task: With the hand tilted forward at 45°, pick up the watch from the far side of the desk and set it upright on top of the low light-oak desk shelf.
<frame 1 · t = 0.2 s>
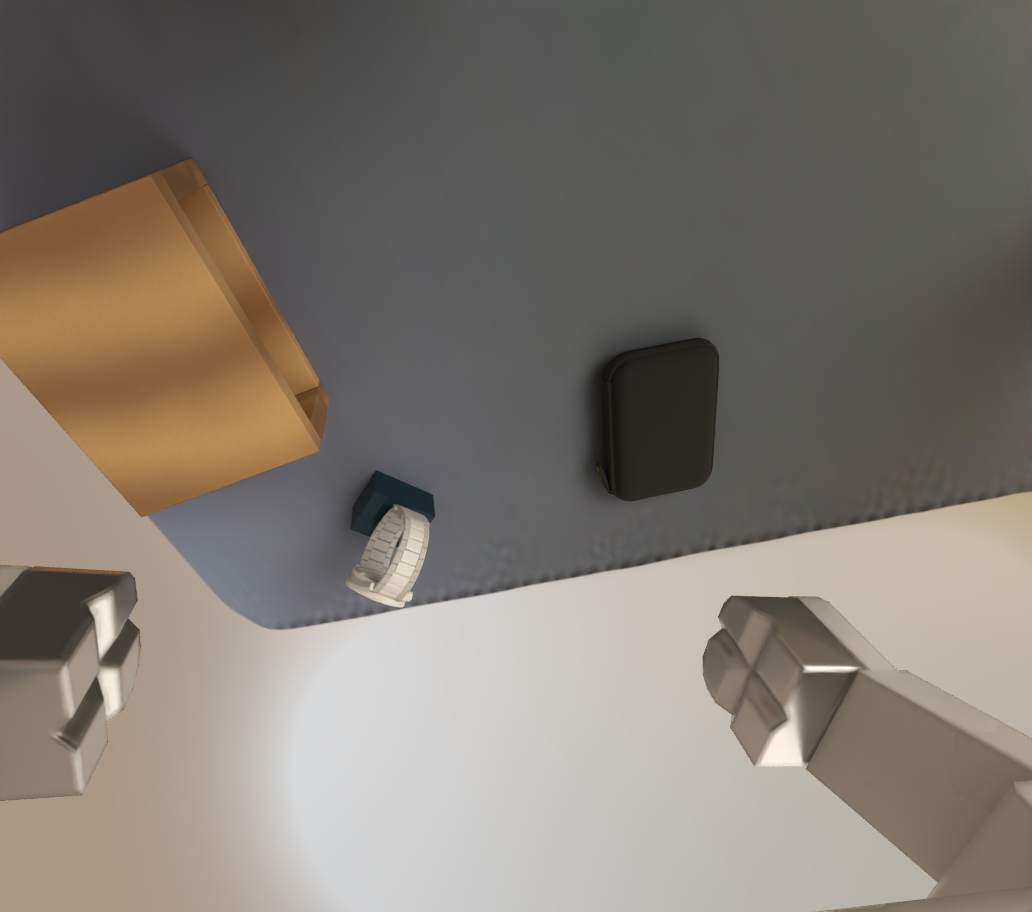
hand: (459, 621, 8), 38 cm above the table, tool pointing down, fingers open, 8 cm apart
watch: (393, 500, 54), on the table
shelf: (183, 324, 43), on the table
carrying case: (648, 416, 54), on the table
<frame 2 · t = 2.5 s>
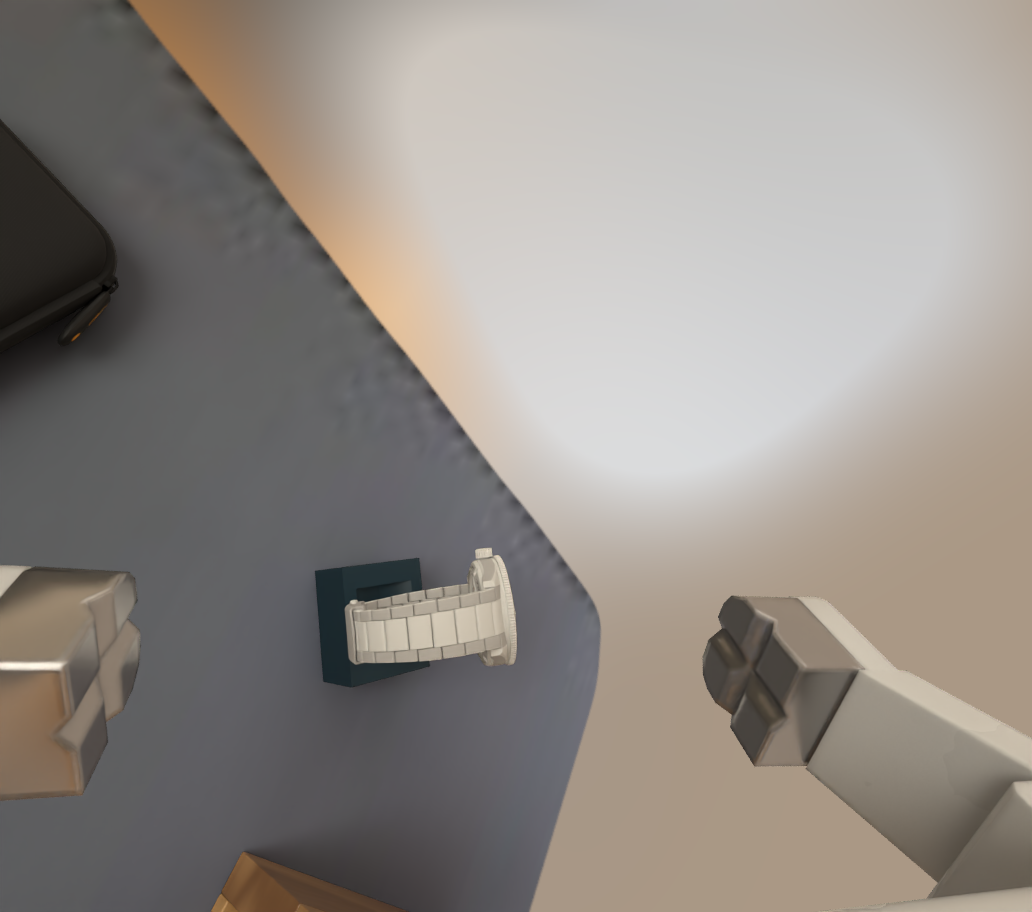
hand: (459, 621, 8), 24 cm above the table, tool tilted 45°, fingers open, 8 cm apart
watch: (358, 616, 33), on the table
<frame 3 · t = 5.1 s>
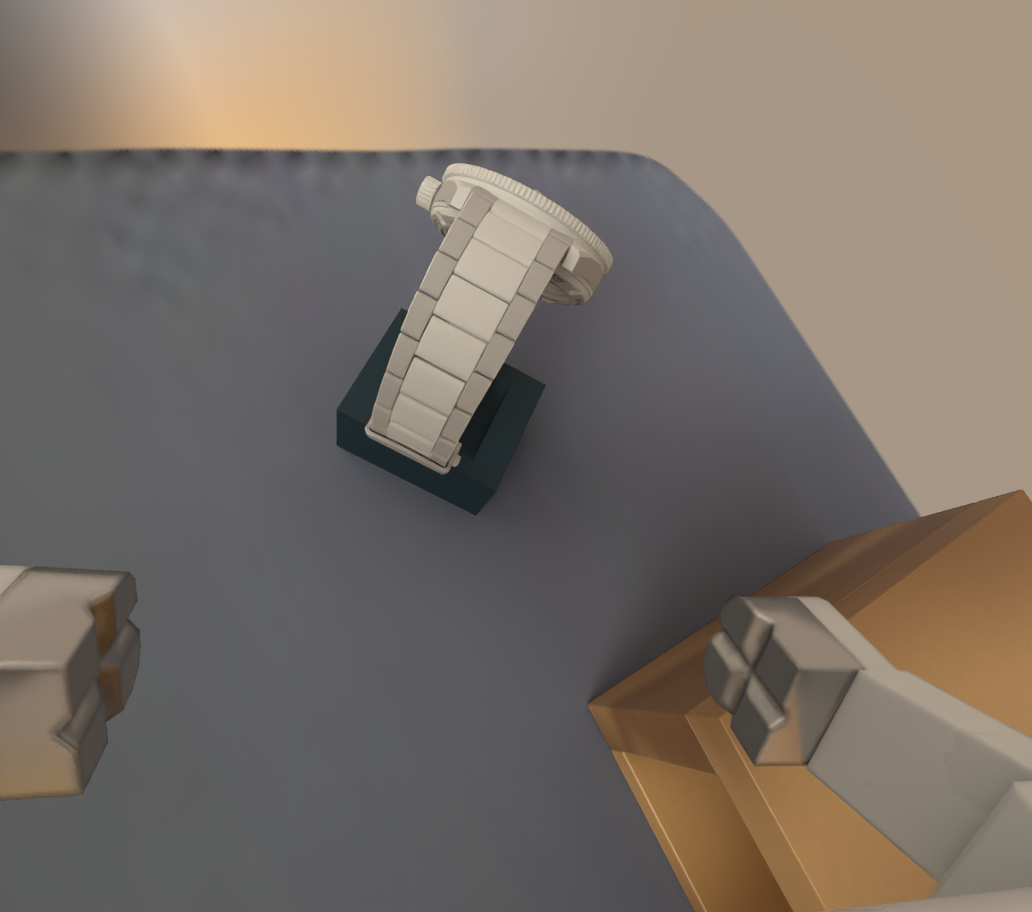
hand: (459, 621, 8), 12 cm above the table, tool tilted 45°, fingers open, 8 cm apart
watch: (432, 431, 23), on the table
shelf: (854, 844, 22), on the table
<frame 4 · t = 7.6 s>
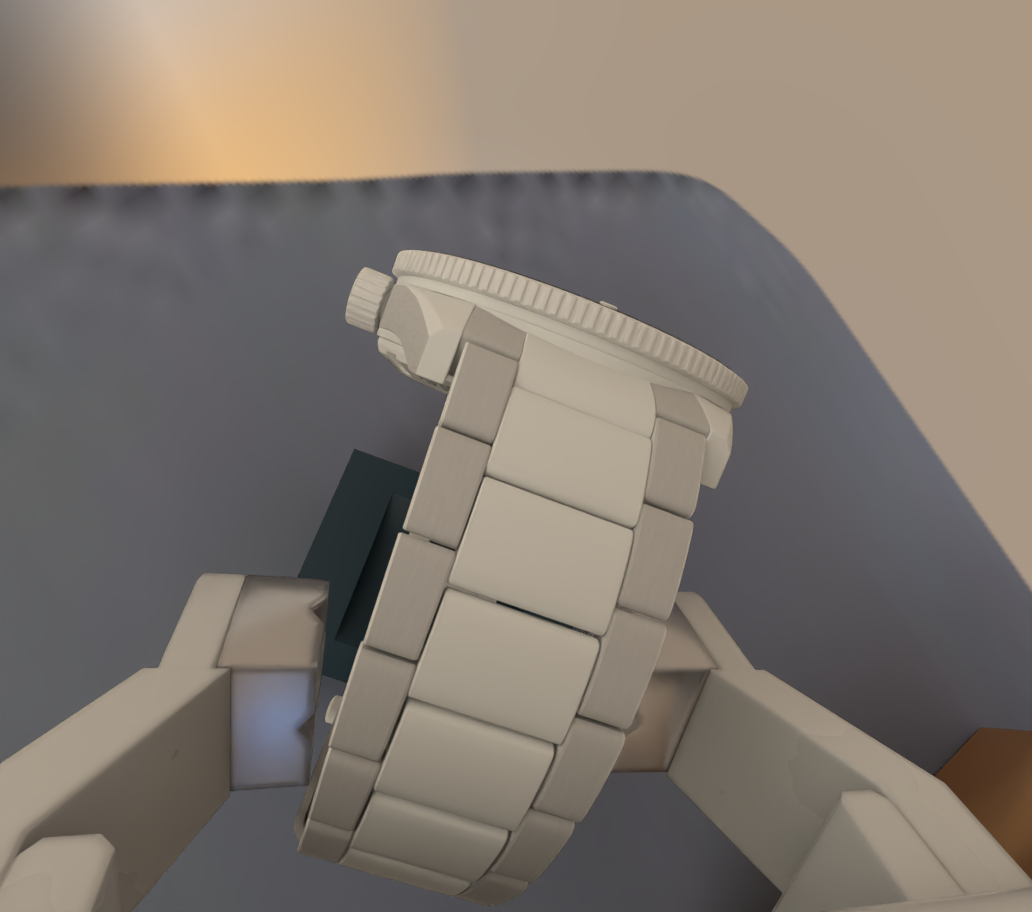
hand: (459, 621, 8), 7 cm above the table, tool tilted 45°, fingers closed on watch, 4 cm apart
watch: (426, 604, 15), on the table, touching gripper
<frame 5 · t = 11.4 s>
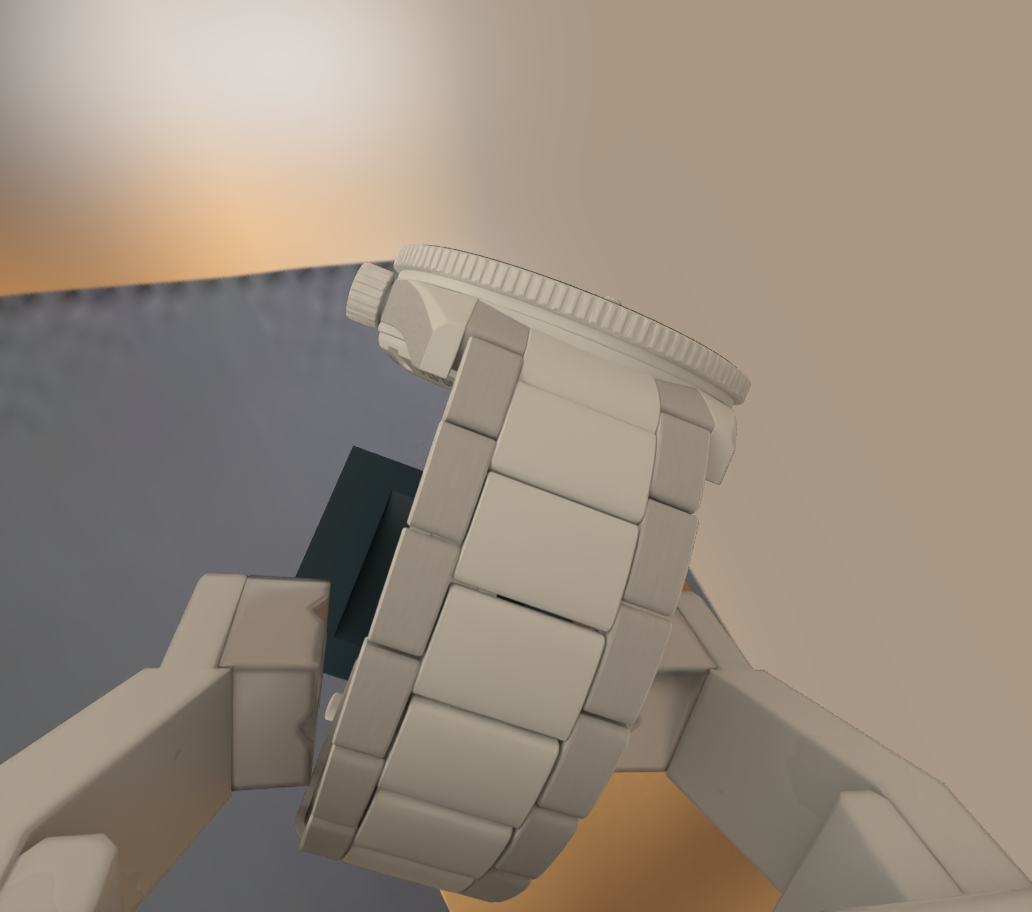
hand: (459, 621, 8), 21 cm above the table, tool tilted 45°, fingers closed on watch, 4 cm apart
watch: (425, 601, 15), point 14 cm above the table, touching gripper
shelf: (592, 842, 27), on the table
when the fingers open (15 cm above the table, at t = 15.4 s): watch stays where it is, resting on shelf.
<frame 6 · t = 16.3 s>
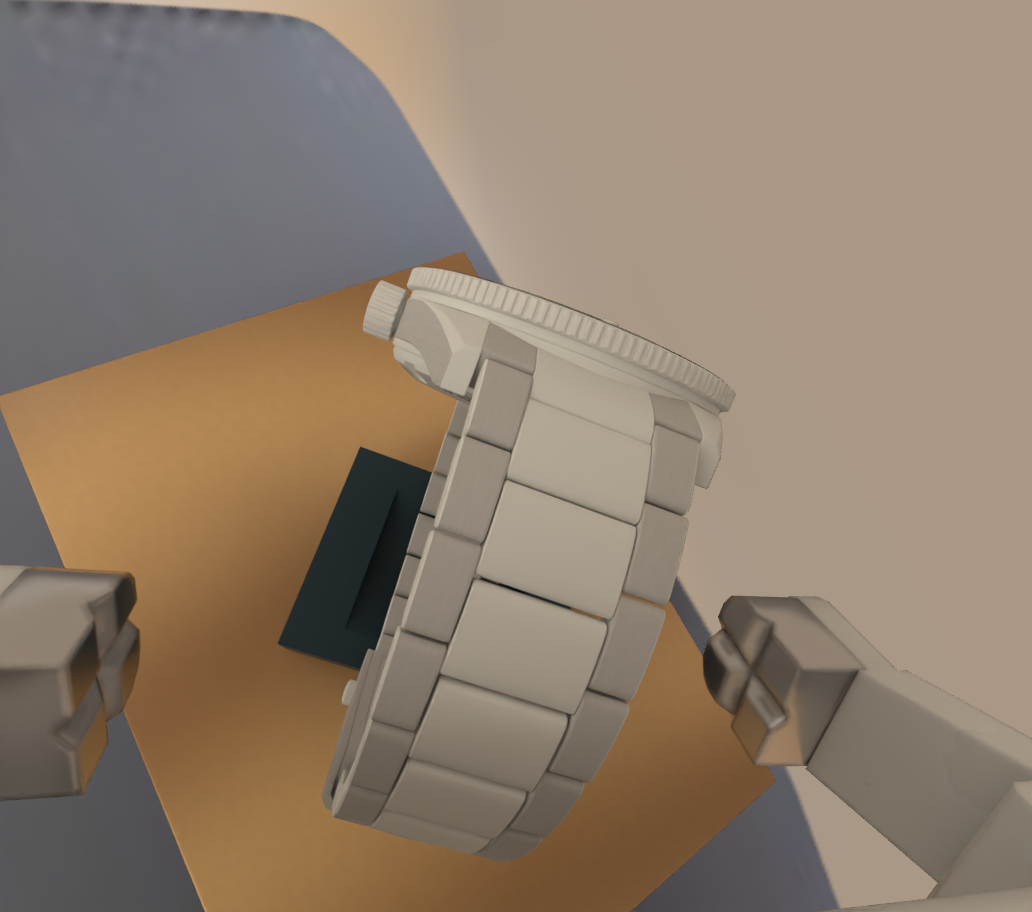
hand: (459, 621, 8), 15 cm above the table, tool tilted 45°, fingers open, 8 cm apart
watch: (427, 594, 16), point 8 cm above the table, touching shelf
shelf: (388, 624, 23), on the table
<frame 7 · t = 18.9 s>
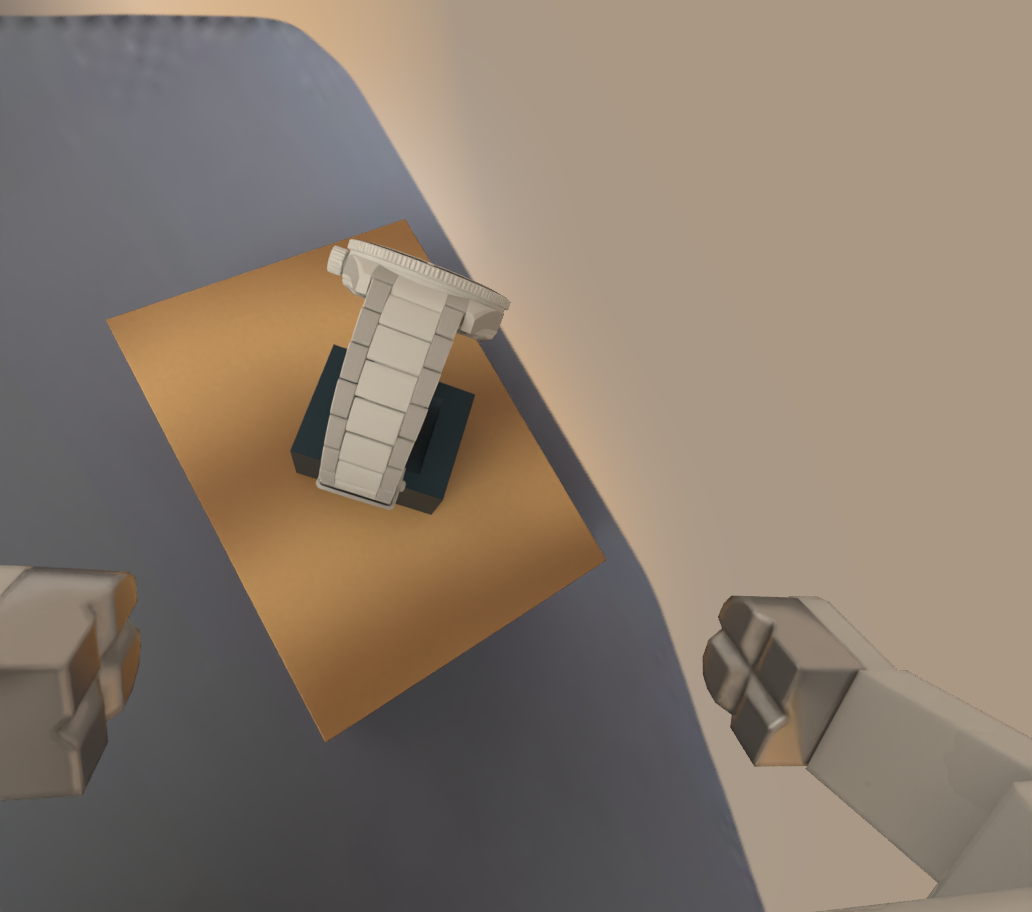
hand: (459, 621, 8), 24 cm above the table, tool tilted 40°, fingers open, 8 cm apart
watch: (381, 444, 25), point 8 cm above the table, touching shelf
shelf: (364, 488, 32), on the table
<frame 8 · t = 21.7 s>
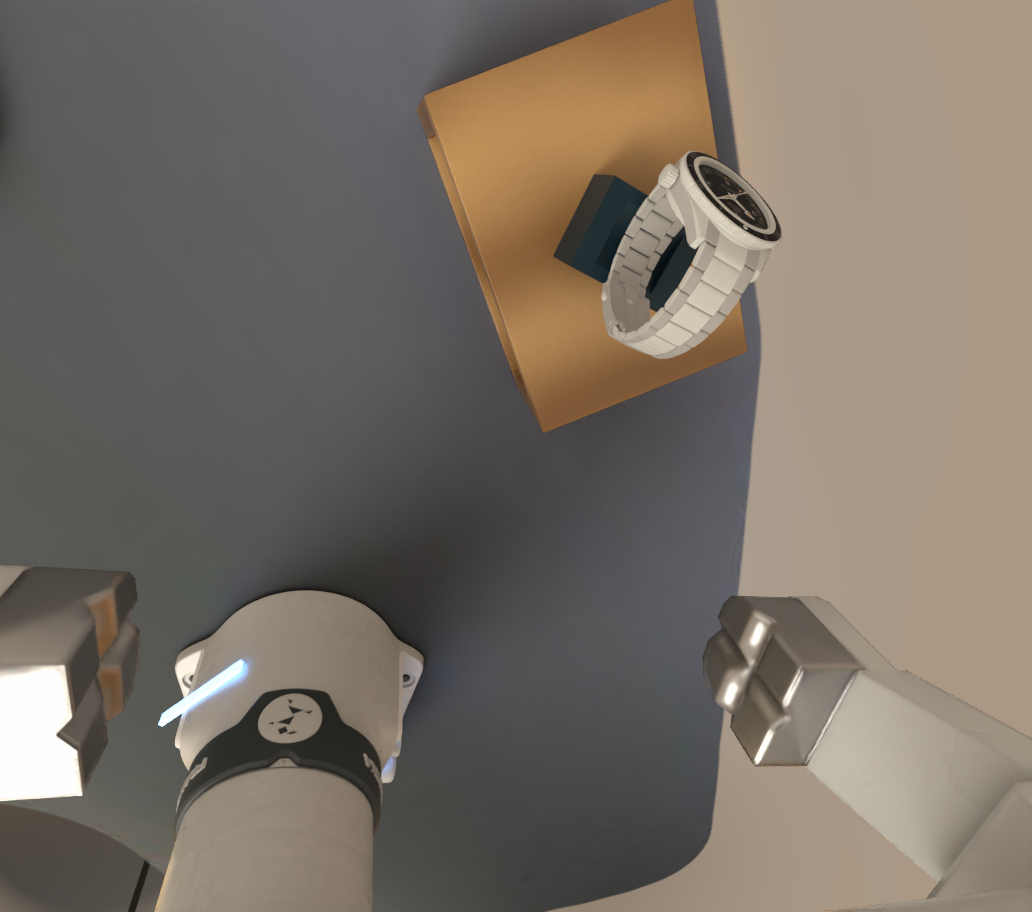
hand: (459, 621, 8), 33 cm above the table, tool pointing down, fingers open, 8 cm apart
watch: (616, 238, 32), point 8 cm above the table, touching shelf
shelf: (567, 226, 39), on the table
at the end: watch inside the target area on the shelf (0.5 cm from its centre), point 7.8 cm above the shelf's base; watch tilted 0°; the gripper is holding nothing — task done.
